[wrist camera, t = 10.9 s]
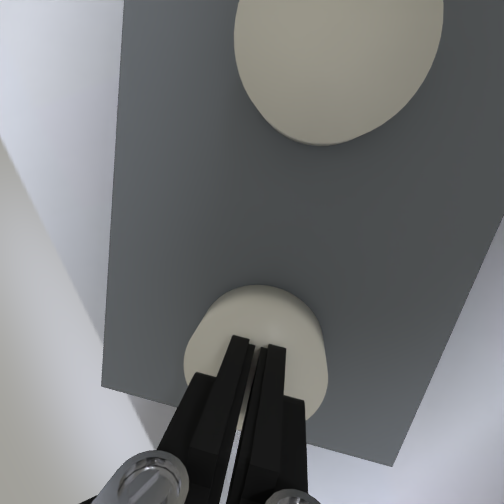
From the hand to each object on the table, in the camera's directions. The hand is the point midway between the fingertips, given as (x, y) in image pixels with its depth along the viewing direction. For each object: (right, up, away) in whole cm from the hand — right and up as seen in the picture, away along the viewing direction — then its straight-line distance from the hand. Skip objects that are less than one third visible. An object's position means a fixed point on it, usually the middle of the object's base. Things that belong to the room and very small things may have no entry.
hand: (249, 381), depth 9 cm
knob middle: (+3, +10, +3) cm, 11 cm away
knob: (+1, +2, +6) cm, 6 cm away
